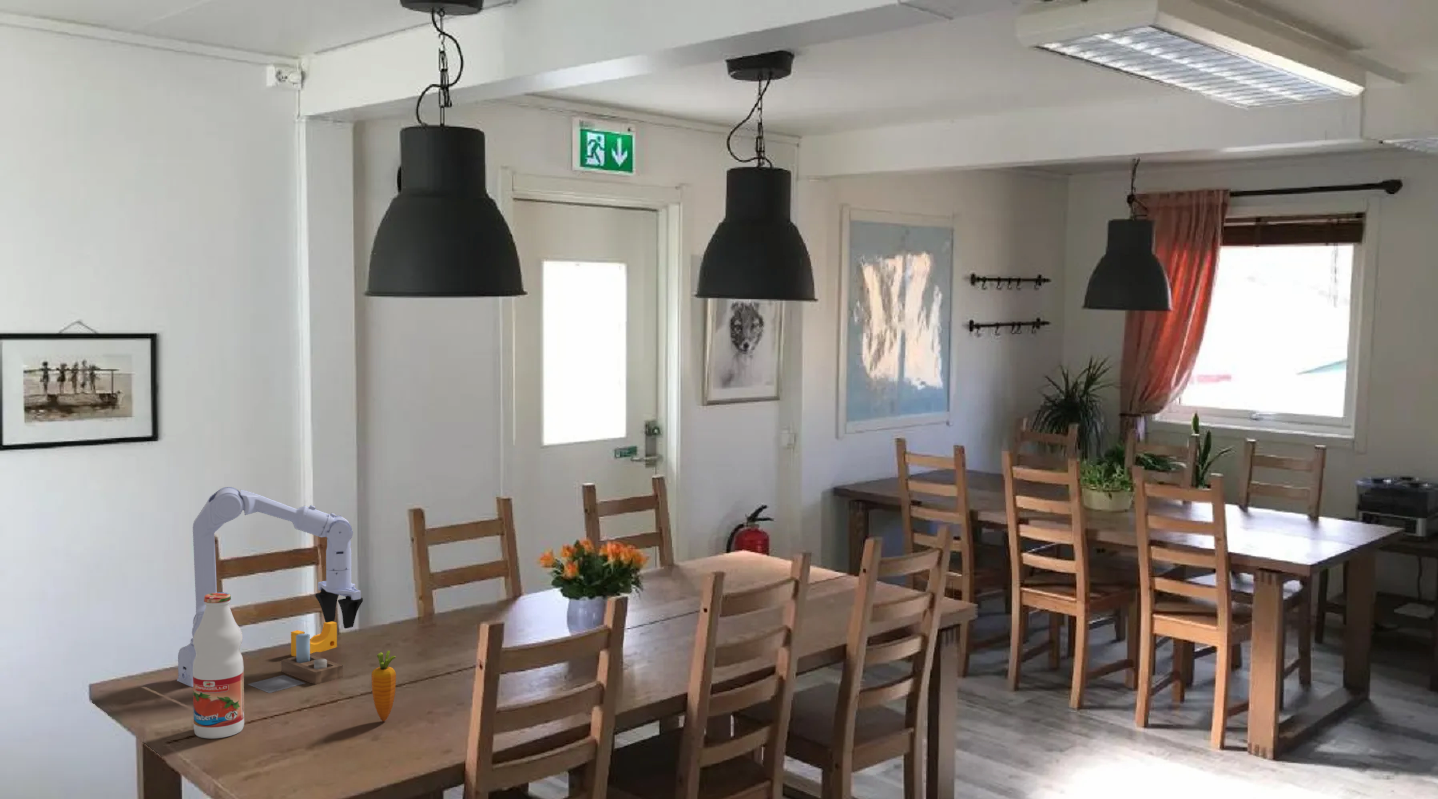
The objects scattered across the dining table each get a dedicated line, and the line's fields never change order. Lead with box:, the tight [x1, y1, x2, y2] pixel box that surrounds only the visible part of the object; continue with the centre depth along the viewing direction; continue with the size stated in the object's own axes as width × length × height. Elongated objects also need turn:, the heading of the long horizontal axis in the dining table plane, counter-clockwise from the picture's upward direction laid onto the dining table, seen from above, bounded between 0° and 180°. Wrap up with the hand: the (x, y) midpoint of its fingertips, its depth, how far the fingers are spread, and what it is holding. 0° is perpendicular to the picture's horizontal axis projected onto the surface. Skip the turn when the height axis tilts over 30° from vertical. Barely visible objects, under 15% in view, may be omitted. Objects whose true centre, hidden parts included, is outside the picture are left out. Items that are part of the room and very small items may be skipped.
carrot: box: [371, 650, 397, 723], centre depth 244 cm, size 5×5×15 cm
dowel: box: [296, 633, 311, 663], centre depth 274 cm, size 3×3×9 cm
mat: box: [247, 674, 306, 694], centre depth 265 cm, size 9×9×1 cm
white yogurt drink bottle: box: [192, 591, 245, 740], centre depth 236 cm, size 9×9×28 cm
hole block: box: [280, 653, 344, 686], centre depth 272 cm, size 7×14×4 cm, turn 52°
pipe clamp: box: [290, 621, 338, 657], centre depth 291 cm, size 12×4×6 cm, turn 150°
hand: (339, 624), depth 279 cm, fingers open, 7 cm apart
